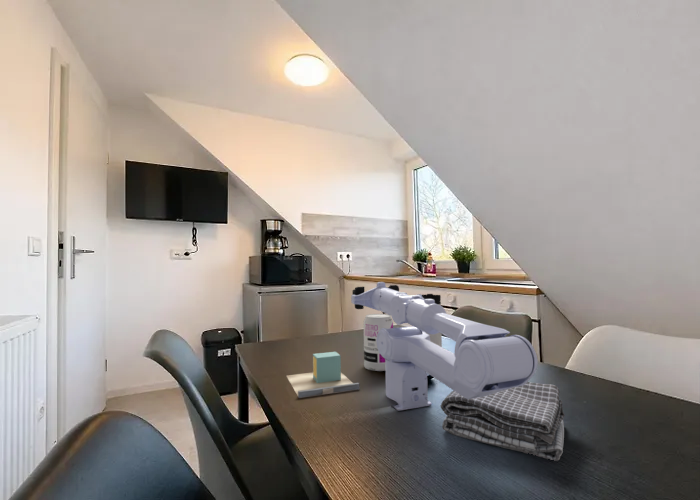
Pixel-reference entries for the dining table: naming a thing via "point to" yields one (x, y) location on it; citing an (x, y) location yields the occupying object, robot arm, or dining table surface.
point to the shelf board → (319, 385)
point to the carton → (326, 367)
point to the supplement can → (374, 340)
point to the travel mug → (438, 337)
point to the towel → (510, 419)
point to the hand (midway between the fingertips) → (366, 292)
